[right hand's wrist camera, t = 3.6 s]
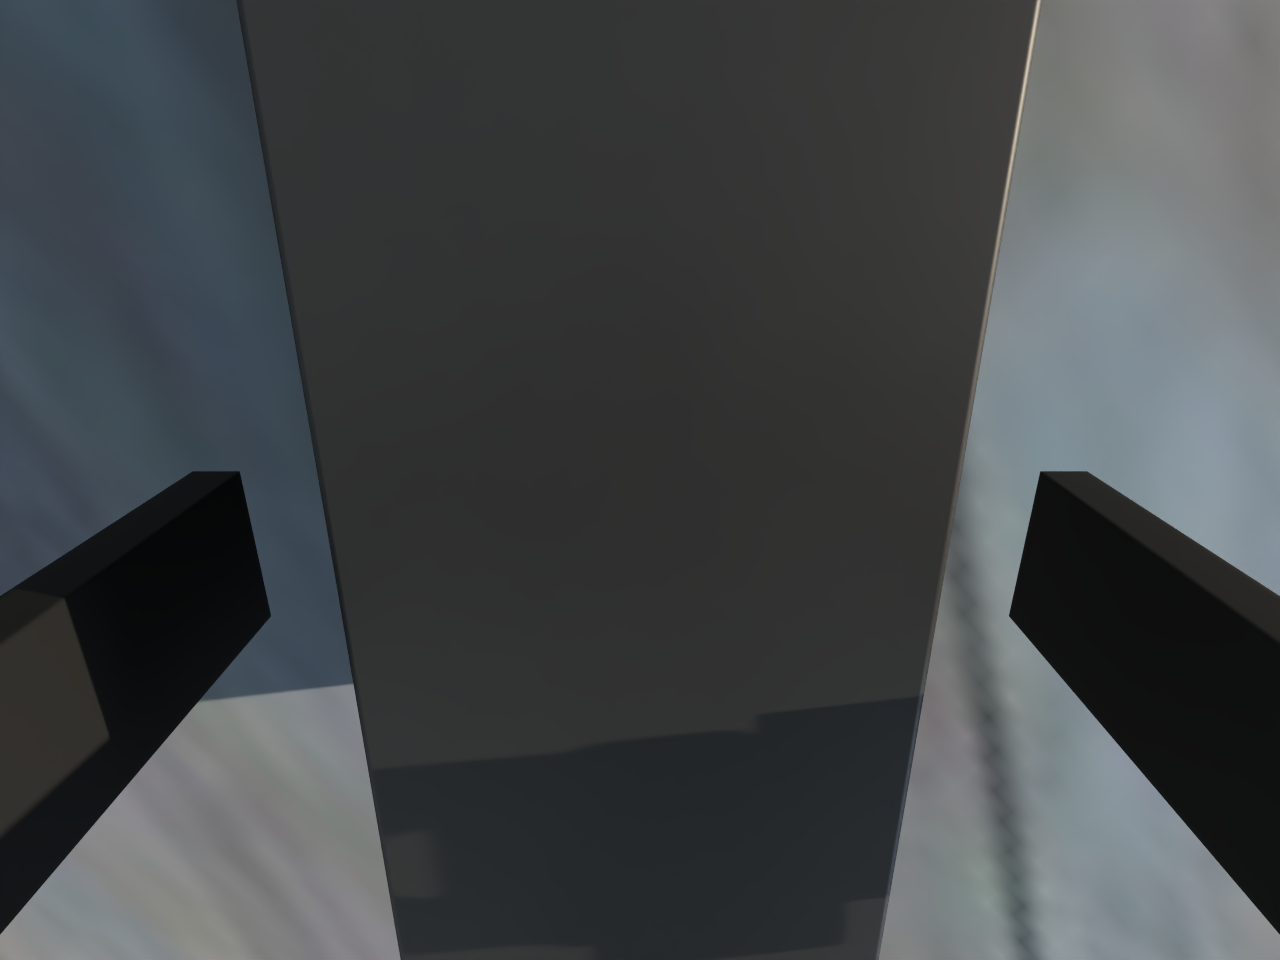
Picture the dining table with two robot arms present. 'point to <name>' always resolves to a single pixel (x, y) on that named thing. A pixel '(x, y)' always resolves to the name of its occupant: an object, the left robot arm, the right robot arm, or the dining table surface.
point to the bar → (639, 439)
